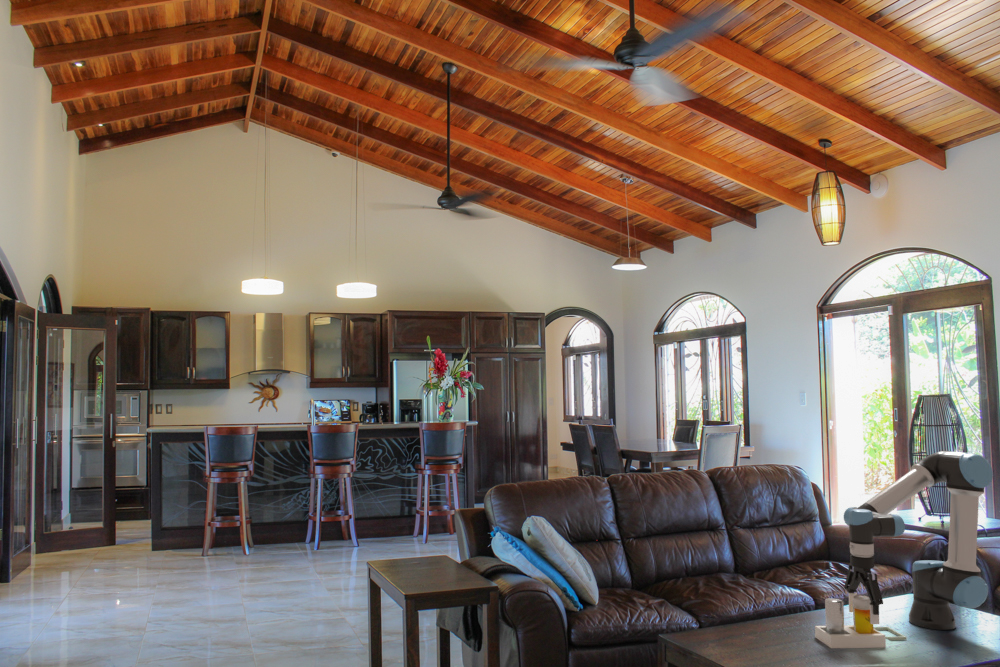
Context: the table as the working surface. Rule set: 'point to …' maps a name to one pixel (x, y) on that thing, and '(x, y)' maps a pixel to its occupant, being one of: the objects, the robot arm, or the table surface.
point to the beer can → (862, 614)
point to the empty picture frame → (901, 637)
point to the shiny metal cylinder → (834, 616)
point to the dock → (850, 638)
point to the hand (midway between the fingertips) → (863, 617)
